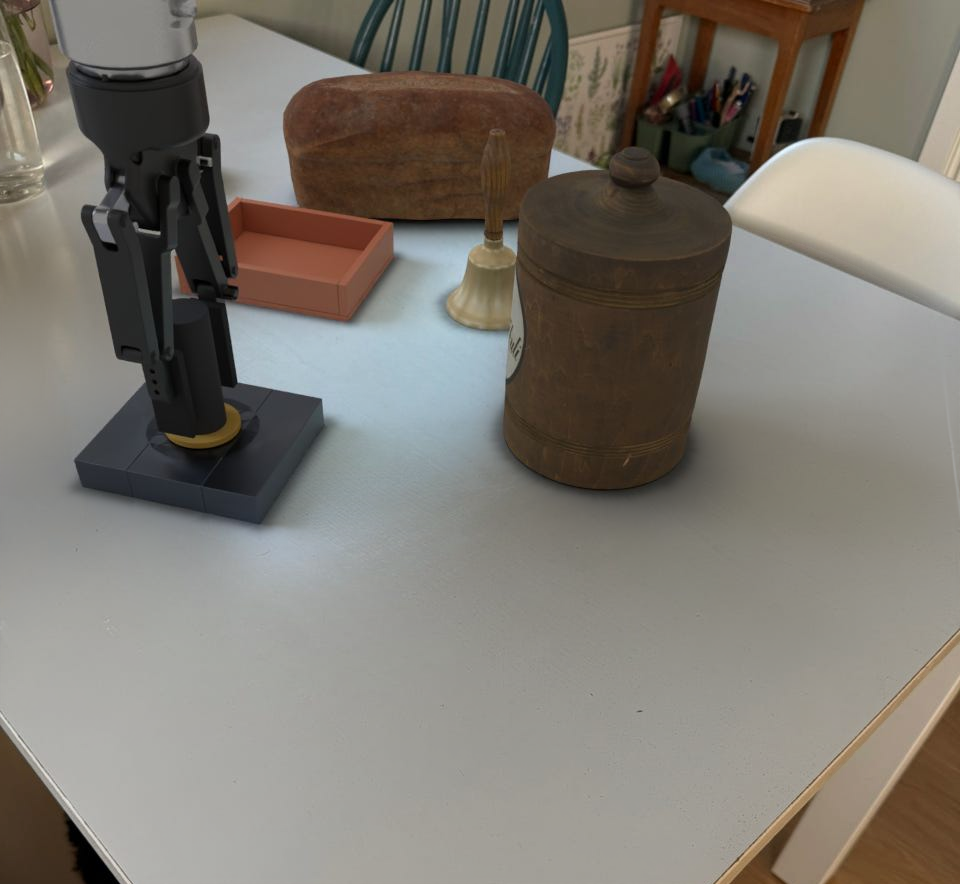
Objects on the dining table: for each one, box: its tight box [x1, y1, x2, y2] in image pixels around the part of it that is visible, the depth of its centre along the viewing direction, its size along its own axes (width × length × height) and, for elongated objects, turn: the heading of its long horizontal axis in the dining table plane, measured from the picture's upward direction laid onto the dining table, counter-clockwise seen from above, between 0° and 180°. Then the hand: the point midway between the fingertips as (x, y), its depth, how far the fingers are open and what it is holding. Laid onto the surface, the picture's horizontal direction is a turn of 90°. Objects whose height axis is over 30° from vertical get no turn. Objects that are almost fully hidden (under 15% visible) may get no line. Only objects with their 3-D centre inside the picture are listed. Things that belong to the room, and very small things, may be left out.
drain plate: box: [73, 381, 325, 525], centre depth 75 cm, size 14×13×2 cm
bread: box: [282, 70, 557, 221], centre depth 103 cm, size 14×28×12 cm, turn 96°
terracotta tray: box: [173, 196, 395, 323], centre depth 94 cm, size 17×14×4 cm
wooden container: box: [502, 146, 733, 490], centre depth 72 cm, size 15×15×22 cm
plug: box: [166, 297, 241, 448], centre depth 71 cm, size 6×6×12 cm
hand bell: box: [445, 129, 517, 332], centre depth 87 cm, size 8×8×16 cm
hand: (199, 405), depth 72 cm, fingers open, 6 cm apart
